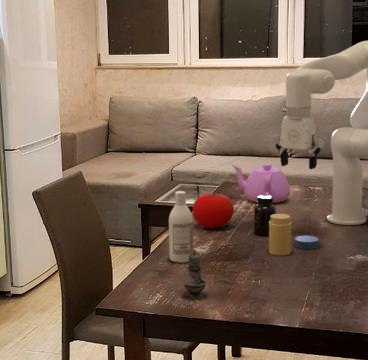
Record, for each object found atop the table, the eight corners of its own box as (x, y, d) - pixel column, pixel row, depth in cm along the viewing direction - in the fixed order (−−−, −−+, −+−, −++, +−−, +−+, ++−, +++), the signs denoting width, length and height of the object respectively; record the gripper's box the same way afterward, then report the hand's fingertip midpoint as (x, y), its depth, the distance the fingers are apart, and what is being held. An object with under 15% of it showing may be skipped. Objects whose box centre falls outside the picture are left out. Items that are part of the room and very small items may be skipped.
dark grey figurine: (181, 291, 189) (180, 246, 187) (204, 290, 189) (203, 245, 187) (185, 300, 183) (184, 253, 181) (208, 298, 184) (208, 252, 181)
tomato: (191, 222, 255) (191, 188, 253) (231, 221, 254) (231, 187, 252) (193, 232, 242) (193, 197, 240) (235, 231, 242) (235, 196, 239)
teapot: (231, 193, 295) (231, 159, 293) (287, 193, 292) (288, 158, 290) (231, 206, 274) (231, 170, 271) (291, 206, 271) (292, 169, 268)
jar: (289, 248, 222) (289, 213, 220) (292, 255, 216) (293, 218, 213) (267, 249, 222) (267, 213, 220) (270, 255, 216) (270, 219, 214)
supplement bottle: (275, 236, 235) (275, 199, 232) (253, 236, 236) (253, 199, 234) (275, 230, 241) (276, 194, 239) (254, 230, 243) (254, 194, 240)
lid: (294, 248, 222) (294, 241, 221) (295, 242, 228) (295, 235, 228) (318, 249, 220) (318, 242, 220) (318, 243, 227) (318, 236, 226)
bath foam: (198, 260, 213) (197, 192, 209) (177, 264, 210) (175, 195, 206) (185, 254, 219) (184, 188, 215) (165, 258, 216) (163, 191, 212)
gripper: (267, 112, 231) (267, 166, 235) (318, 115, 219) (317, 172, 223) (280, 109, 236) (280, 162, 240) (330, 112, 225) (329, 167, 229)
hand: (298, 166), depth 232 cm, fingers open, 9 cm apart
